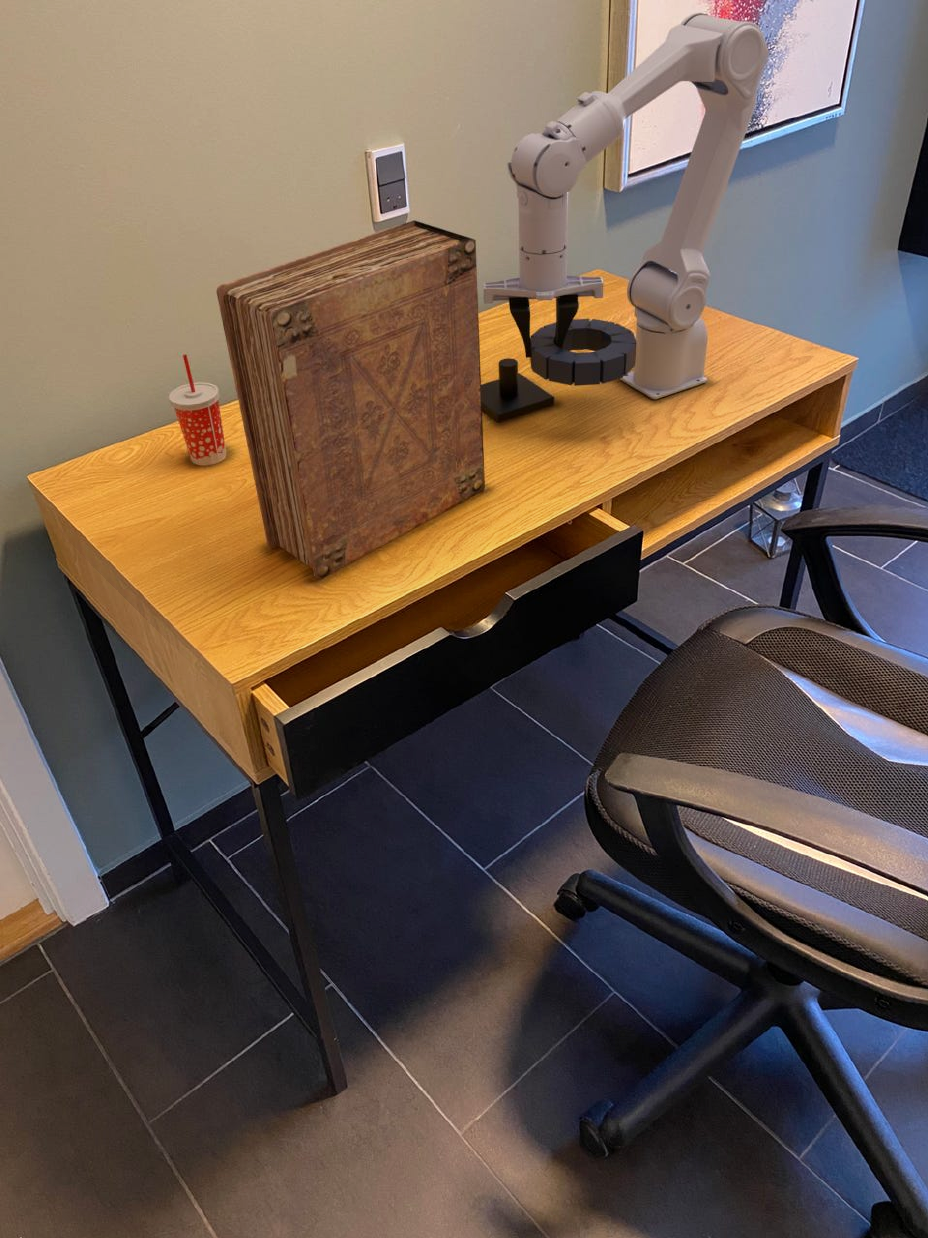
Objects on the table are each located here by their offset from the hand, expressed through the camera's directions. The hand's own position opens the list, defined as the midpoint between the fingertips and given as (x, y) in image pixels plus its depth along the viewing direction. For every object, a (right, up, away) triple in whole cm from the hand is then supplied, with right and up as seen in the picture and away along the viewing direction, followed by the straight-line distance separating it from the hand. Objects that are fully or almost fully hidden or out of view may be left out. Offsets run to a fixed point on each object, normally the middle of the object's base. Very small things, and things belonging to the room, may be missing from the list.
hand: (542, 353), depth 127 cm
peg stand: (-4, -4, +10) cm, 12 cm away
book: (-20, -22, -11) cm, 32 cm away
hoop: (+5, -1, +1) cm, 5 cm away
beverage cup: (-43, -13, +3) cm, 45 cm away
